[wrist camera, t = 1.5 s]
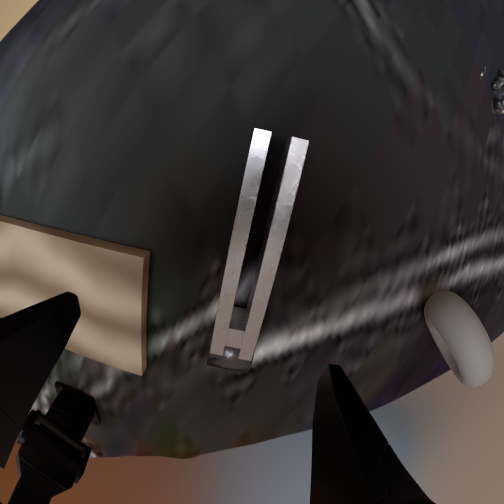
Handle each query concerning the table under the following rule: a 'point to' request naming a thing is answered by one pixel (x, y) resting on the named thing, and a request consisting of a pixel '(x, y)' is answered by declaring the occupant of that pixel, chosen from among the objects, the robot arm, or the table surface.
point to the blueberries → (498, 93)
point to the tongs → (250, 319)
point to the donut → (460, 337)
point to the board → (80, 287)
